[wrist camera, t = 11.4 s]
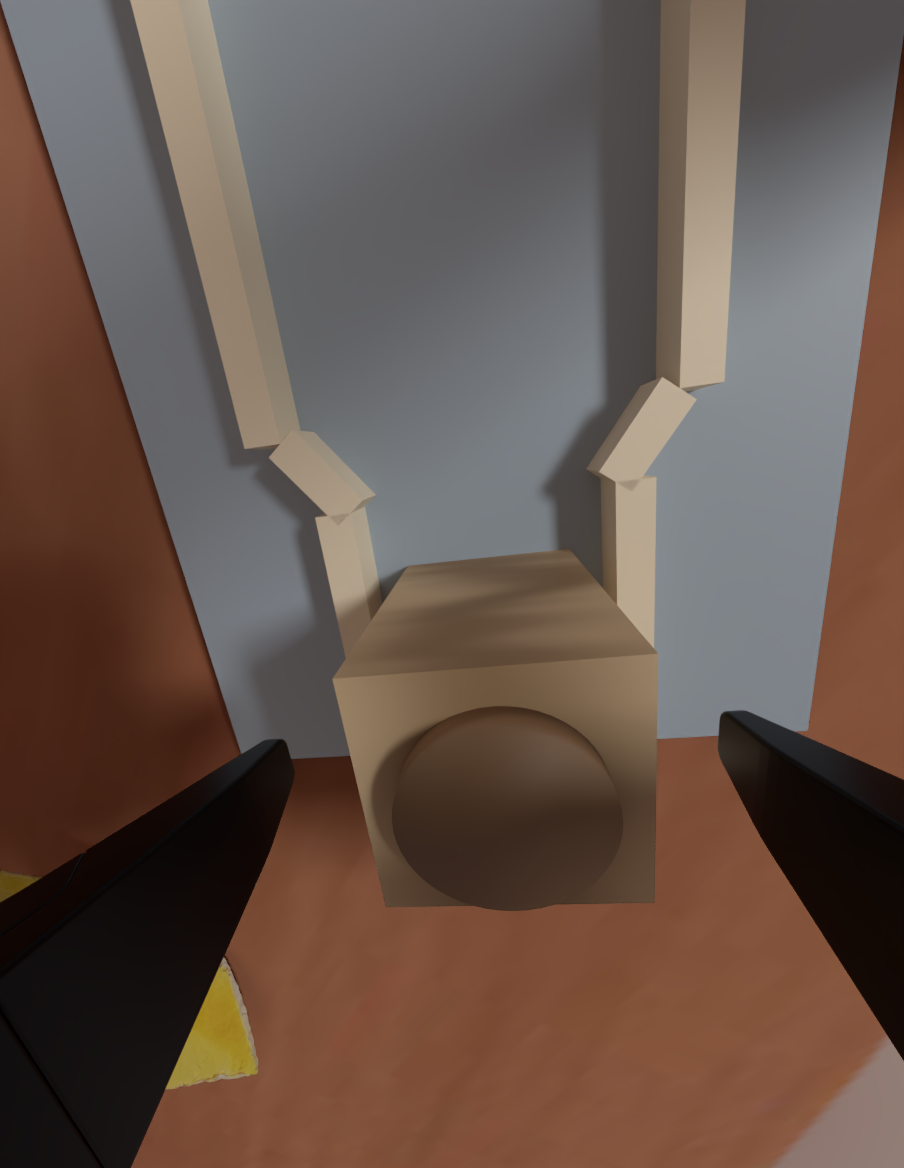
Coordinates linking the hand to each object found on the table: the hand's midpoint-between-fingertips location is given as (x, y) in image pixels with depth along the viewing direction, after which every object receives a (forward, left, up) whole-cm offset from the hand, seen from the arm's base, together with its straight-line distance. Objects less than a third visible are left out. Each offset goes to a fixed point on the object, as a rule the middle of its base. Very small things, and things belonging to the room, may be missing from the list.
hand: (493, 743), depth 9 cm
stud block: (0, 0, -5) cm, 5 cm away
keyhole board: (0, -9, -6) cm, 11 cm away
